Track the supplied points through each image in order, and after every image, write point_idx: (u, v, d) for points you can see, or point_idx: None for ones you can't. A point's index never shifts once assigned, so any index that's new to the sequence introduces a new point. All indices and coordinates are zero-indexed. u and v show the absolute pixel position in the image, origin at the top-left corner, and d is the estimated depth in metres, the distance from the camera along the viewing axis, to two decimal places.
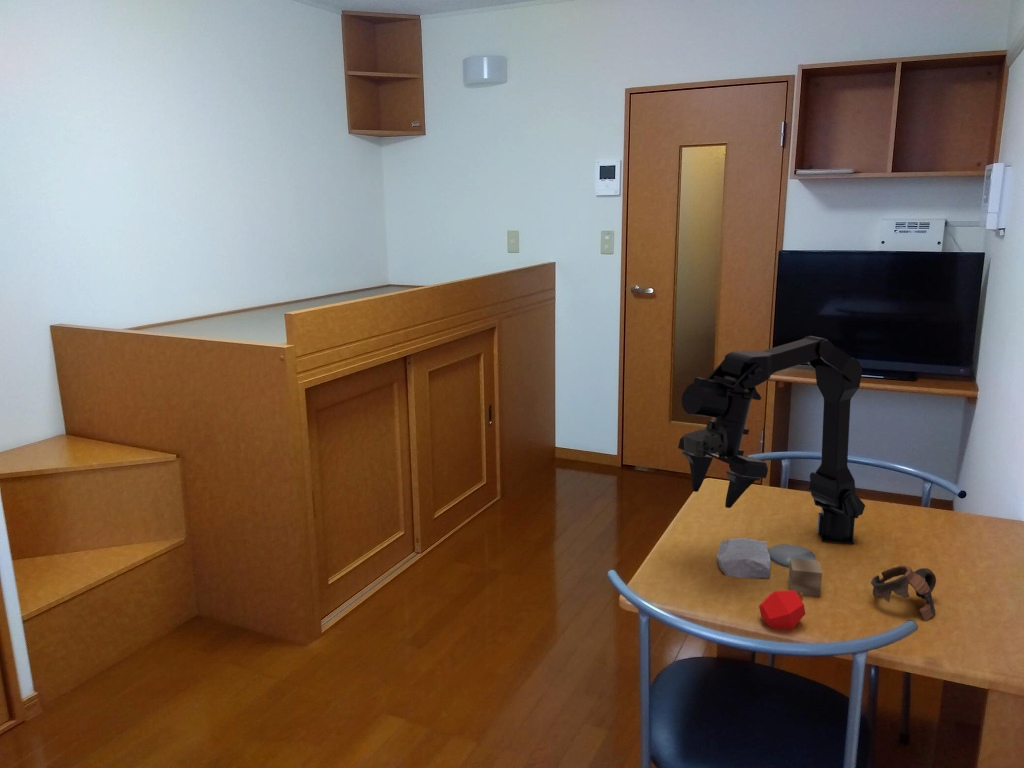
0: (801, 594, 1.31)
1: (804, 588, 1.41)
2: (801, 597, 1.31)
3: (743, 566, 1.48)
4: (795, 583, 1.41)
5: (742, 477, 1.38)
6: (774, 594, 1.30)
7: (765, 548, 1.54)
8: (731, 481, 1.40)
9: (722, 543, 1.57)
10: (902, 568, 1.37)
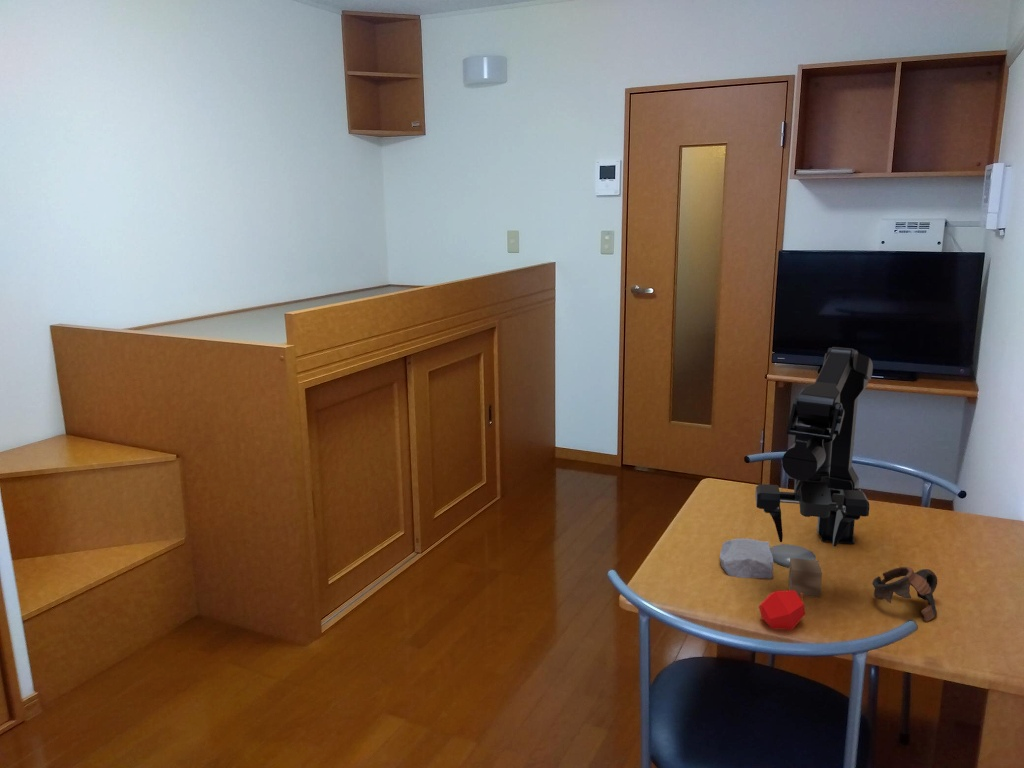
0: (801, 594, 1.31)
1: (804, 589, 1.41)
2: (801, 597, 1.31)
3: (746, 566, 1.48)
4: (795, 583, 1.41)
5: None
6: (774, 594, 1.30)
7: (768, 548, 1.54)
8: (843, 522, 1.37)
9: (724, 543, 1.57)
10: (903, 569, 1.37)
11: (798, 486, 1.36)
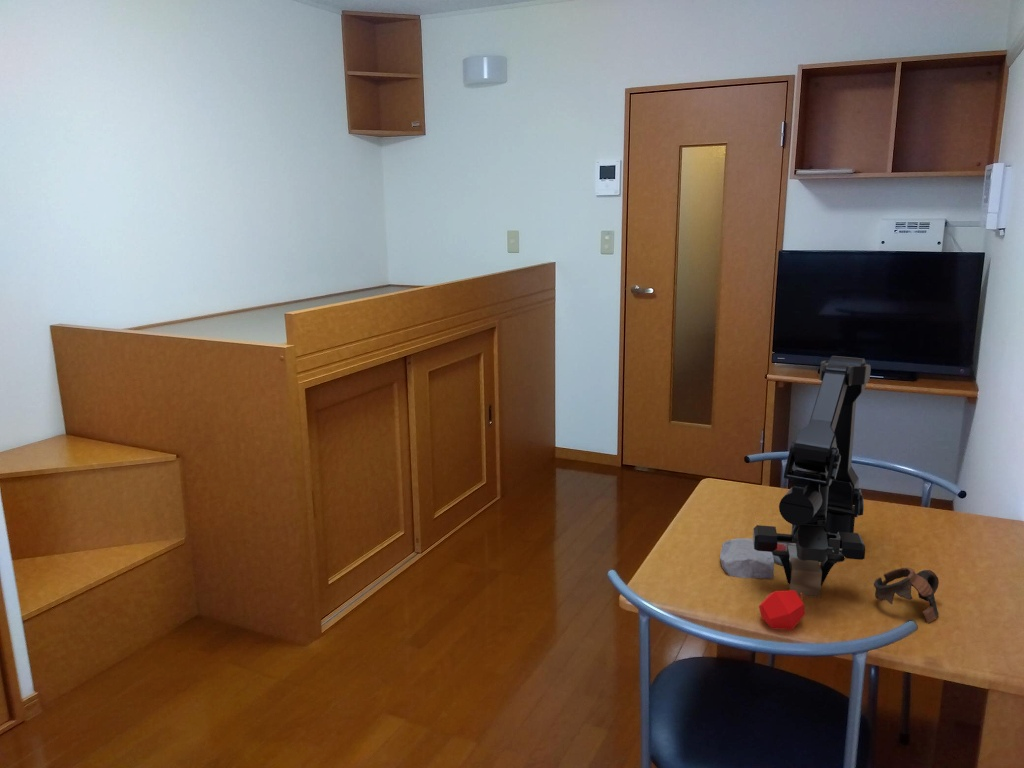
0: (801, 594, 1.31)
1: (804, 588, 1.40)
2: (801, 597, 1.31)
3: (746, 566, 1.48)
4: (795, 582, 1.41)
5: (843, 558, 1.38)
6: (774, 594, 1.30)
7: None
8: (828, 564, 1.39)
9: (724, 543, 1.57)
10: (905, 570, 1.37)
11: (795, 529, 1.38)
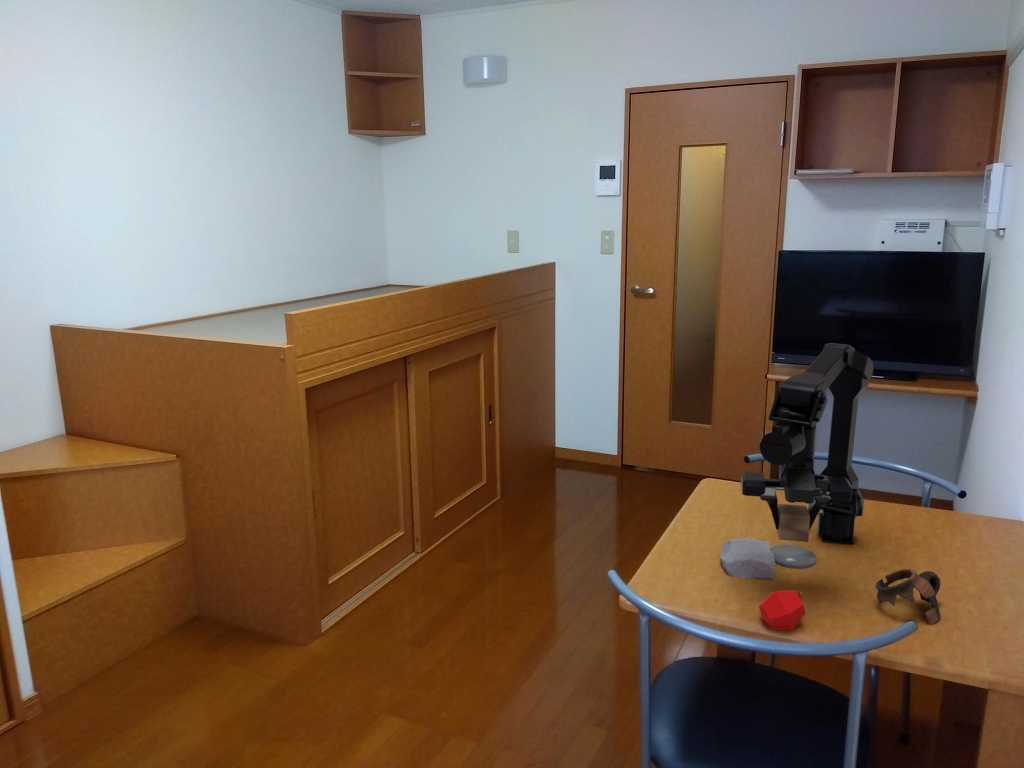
0: (801, 594, 1.31)
1: (793, 533, 1.41)
2: (801, 597, 1.31)
3: (747, 566, 1.48)
4: (784, 527, 1.41)
5: (831, 501, 1.38)
6: (774, 594, 1.30)
7: (768, 548, 1.54)
8: (815, 507, 1.39)
9: (725, 543, 1.57)
10: (906, 571, 1.36)
11: (783, 473, 1.38)
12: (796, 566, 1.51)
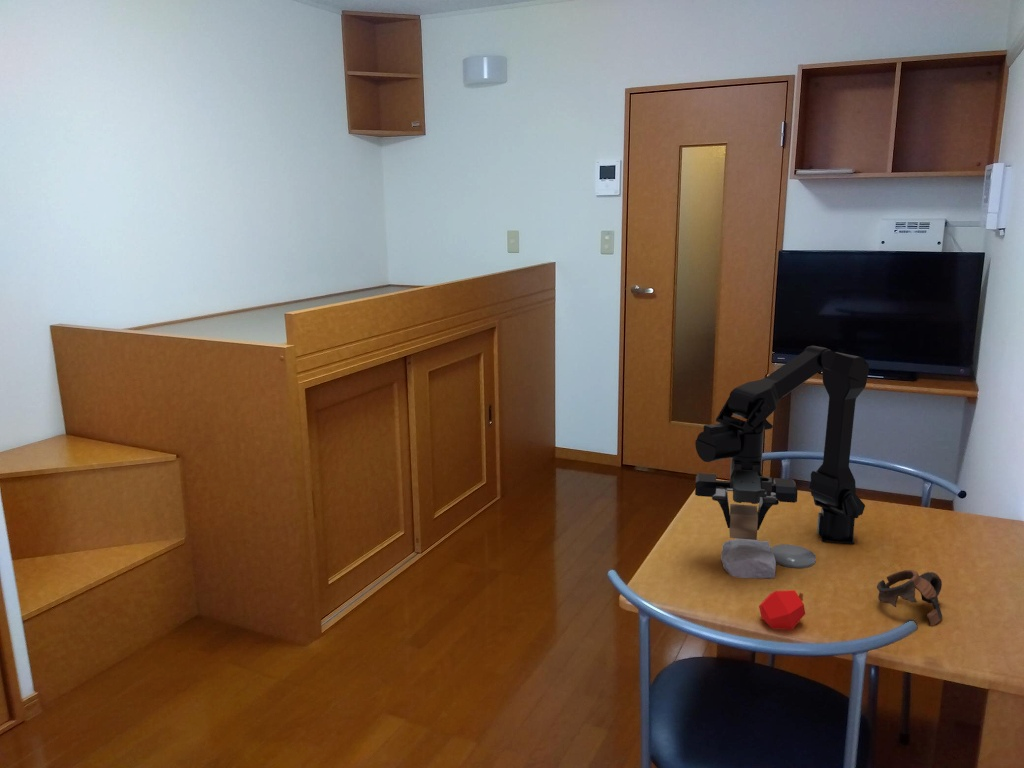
0: (801, 594, 1.31)
1: (742, 531, 1.49)
2: (801, 597, 1.31)
3: (748, 567, 1.48)
4: (734, 525, 1.49)
5: None
6: (774, 594, 1.30)
7: (768, 548, 1.54)
8: (763, 508, 1.48)
9: (725, 544, 1.57)
10: (908, 572, 1.36)
11: (732, 475, 1.46)
12: (796, 566, 1.51)
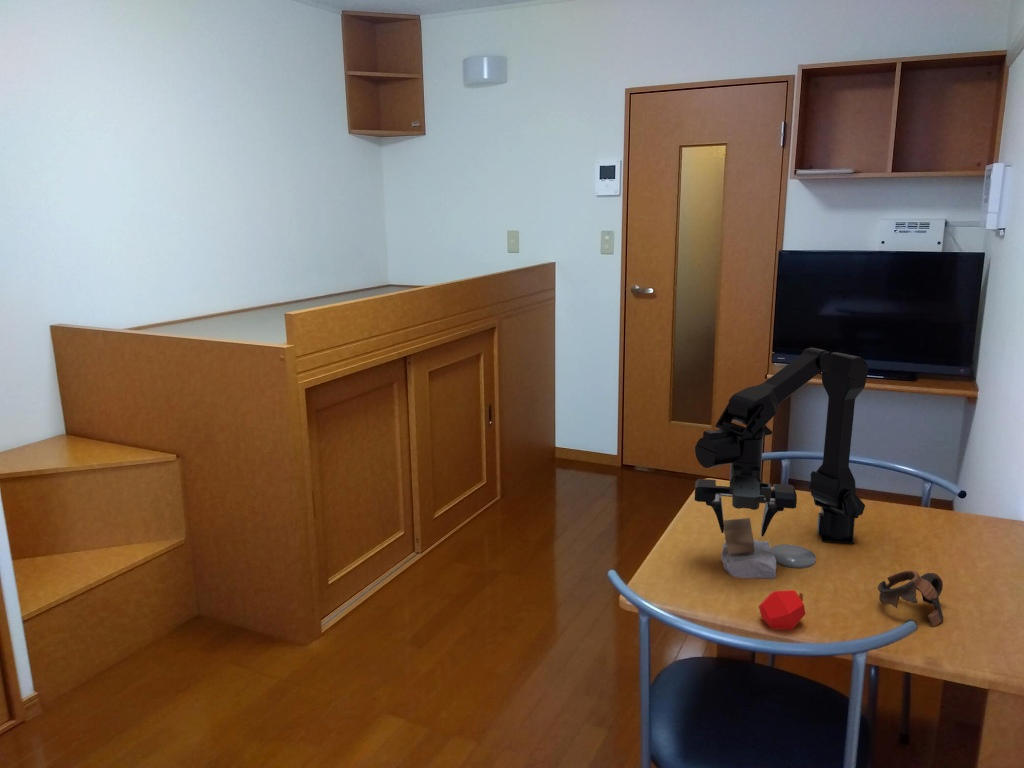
0: (801, 594, 1.31)
1: (739, 546, 1.50)
2: (801, 597, 1.31)
3: (749, 567, 1.48)
4: (729, 541, 1.50)
5: (783, 508, 1.47)
6: (774, 594, 1.30)
7: (768, 548, 1.54)
8: (769, 514, 1.48)
9: (725, 544, 1.57)
10: (909, 573, 1.36)
11: (731, 480, 1.47)
12: (796, 566, 1.51)
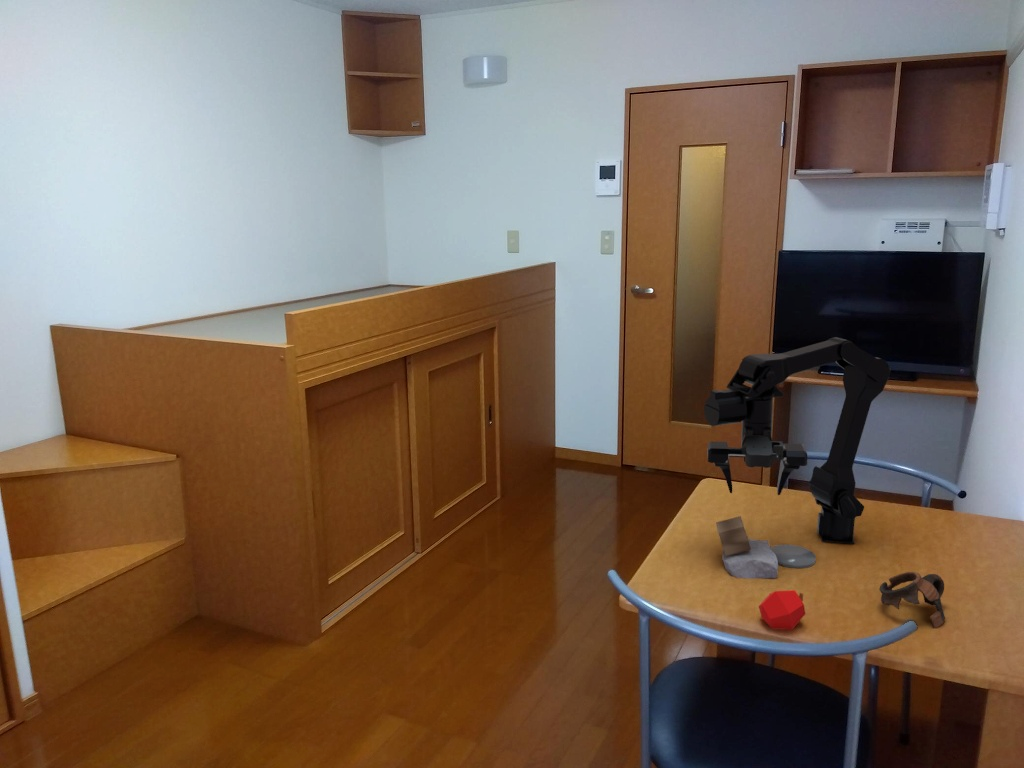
0: (801, 594, 1.31)
1: (735, 545, 1.50)
2: (801, 597, 1.31)
3: (751, 567, 1.48)
4: (725, 543, 1.51)
5: None
6: (774, 594, 1.30)
7: (768, 548, 1.54)
8: (785, 472, 1.52)
9: None
10: (910, 574, 1.35)
11: (744, 441, 1.51)
12: (796, 566, 1.51)
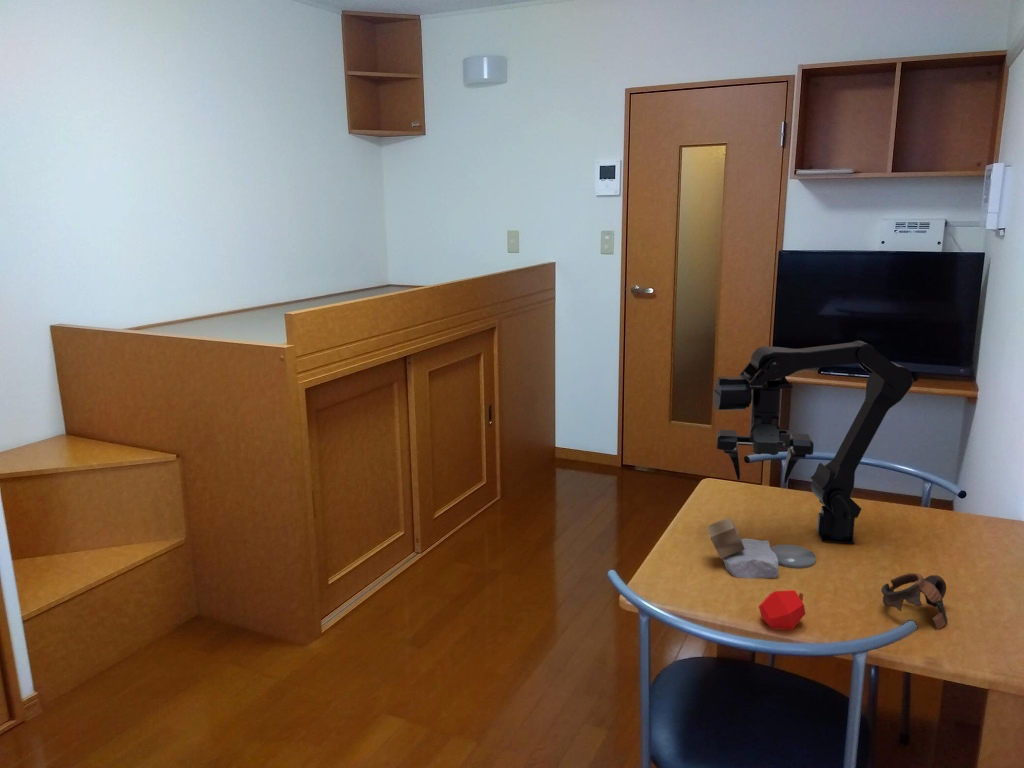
0: (801, 594, 1.31)
1: (728, 547, 1.51)
2: (801, 597, 1.31)
3: (752, 567, 1.48)
4: (718, 546, 1.51)
5: None
6: (774, 594, 1.30)
7: (768, 547, 1.54)
8: (791, 461, 1.58)
9: None
10: (912, 576, 1.35)
11: (752, 429, 1.56)
12: (796, 566, 1.51)
